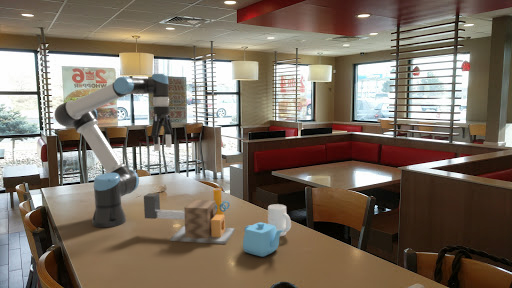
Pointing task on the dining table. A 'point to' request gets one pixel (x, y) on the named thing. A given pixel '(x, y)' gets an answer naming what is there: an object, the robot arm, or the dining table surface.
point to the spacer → (218, 225)
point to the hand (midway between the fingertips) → (163, 149)
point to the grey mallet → (154, 210)
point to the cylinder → (219, 202)
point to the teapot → (261, 239)
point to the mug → (279, 218)
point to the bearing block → (200, 224)
